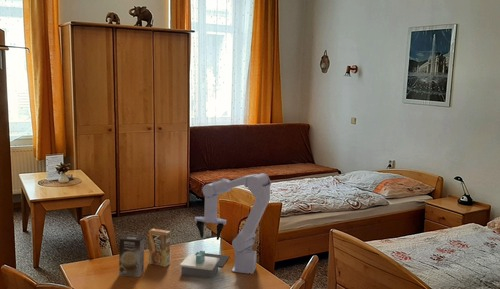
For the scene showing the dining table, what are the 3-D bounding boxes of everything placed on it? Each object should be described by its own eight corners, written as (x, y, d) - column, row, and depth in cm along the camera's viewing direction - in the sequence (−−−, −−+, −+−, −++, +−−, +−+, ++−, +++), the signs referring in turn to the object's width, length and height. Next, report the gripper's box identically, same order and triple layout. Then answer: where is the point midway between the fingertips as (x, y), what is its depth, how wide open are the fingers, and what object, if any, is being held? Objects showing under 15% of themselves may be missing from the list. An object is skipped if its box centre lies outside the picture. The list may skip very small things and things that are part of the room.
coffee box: (118, 275, 196) (118, 238, 193) (123, 269, 202) (123, 233, 200) (139, 277, 195) (139, 240, 192) (144, 271, 201) (144, 235, 199)
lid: (219, 261, 207) (219, 250, 206) (211, 271, 195) (212, 260, 194) (189, 257, 209) (189, 246, 209) (179, 267, 198) (180, 256, 197)
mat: (229, 256, 221) (229, 256, 221) (222, 267, 208) (222, 266, 208) (197, 253, 224) (197, 252, 224) (188, 263, 212) (188, 262, 211)
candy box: (170, 263, 210) (170, 230, 208) (165, 267, 206) (166, 233, 204) (153, 260, 213) (153, 228, 211) (148, 263, 209) (148, 230, 207)
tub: (217, 268, 207) (218, 260, 206) (210, 278, 196) (211, 269, 196) (189, 265, 209) (190, 256, 209) (181, 275, 199) (181, 266, 198)
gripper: (228, 208, 215) (227, 237, 217) (198, 205, 218) (197, 233, 220) (224, 212, 209) (223, 242, 210) (193, 209, 211) (192, 238, 213)
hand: (209, 238), depth 215 cm, fingers open, 7 cm apart
